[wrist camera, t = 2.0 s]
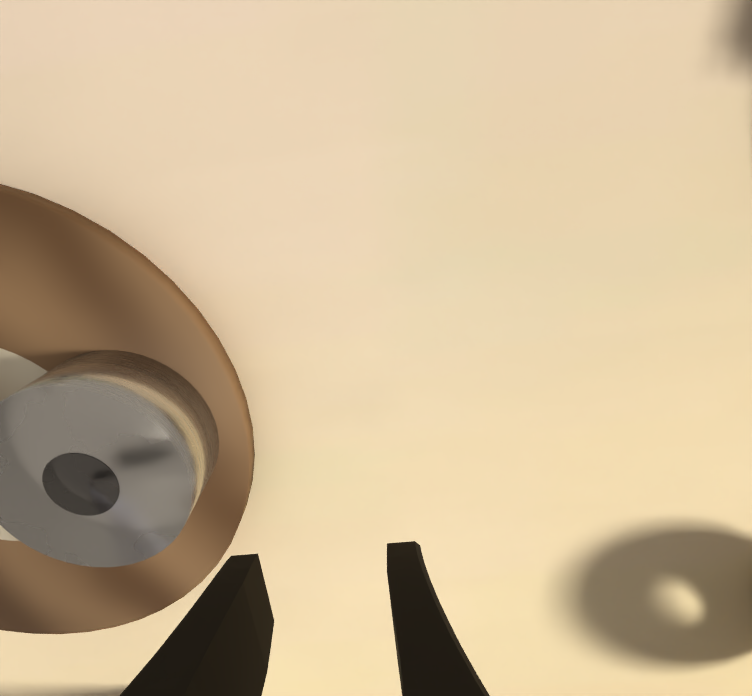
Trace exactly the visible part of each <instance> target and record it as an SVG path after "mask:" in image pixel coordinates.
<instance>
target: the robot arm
mask: <svg viewBox="0 0 752 696" xmlns="http://www.w3.org/2000/svg"><path fill="white" fill-rule="evenodd" d="M387 575H388V583H389V592H390V600H391V608H392V617H393V625H394V634H395V642H396V650H397V659H398V667H399V674H400V681H401V689H402V696H490V695H489V694H488V692H487V691H486V689H485V687H484V686H483V684H482V682H481V680H480V679H479V677H478V675H477V674H476V672H475V670H474V668H473V666H472V665H471V663H470V661H469V659H468V658H467V656H466V654H465V652H464V650H463V648H462V647H461V645H460V643H459V641H458V639H457V637H456V635H455V633H454V631H453V629H452V627H451V625H450V623H449V621H448V619H447V617H446V615H445V613H444V611H443V608H442V606H441V604H440V602H439V600H438V597H437V595H436V593H435V590H434V588H433V585H432V583H431V580H430V578H429V575H428V572H427V570H426V566H425V563H424V560H423V556H422V553H421V548H420V545H419V544H418V543H416V542H415V541H413V542H401V543H388V544H387ZM273 626H274V618H273V614H272V610H271V606H270V602H269V598H268V593H267V589H266V585H265V581H264V577H263V573H262V569H261V565H260V560H259V556H258V554H249V555H237V556H231V557H230V558H229V559H228V560H227V561H226V563H225V564H224V565H223V567H222V568H221V569H220V571H219V572H218V573H217V575H216V576H215V577H214V579H213V580H212V581H211V583H210V584H209V585H208V587H207V588H206V589H205V591H204V592H203V593H202V595H201V596H200V597H199V599H198V600H197V601H196V603H195V604H194V605H193V607H192V608H191V609H190V611H189V612H188V613H187V615H186V616H185V617H184V618H183V620H182V621H181V622H180V623H179V625H178V626H177V627H176V629H175V630H174V631H173V632H172V634H171V635H170V636H169V637H168V639H167V640H166V641H165V643H164V644H163V645H162V646H161V648H160V649H159V650H158V651H157V652H156V654H155V655H154V656H153V657H152V658H151V660H150V661H149V662H148V663H147V664H146V666H145V667H144V668H143V669H142V670H141V671H140V673H139V674H138V675H137V676H136V677H135V678H134V680H133V681H132V682H131V683H130V684H129V686H128V687H127V688H126V689H125V690H124V691H123V693H122V694H121V695H120V696H261V695H262V691H263V687H264V682H265V678H266V674H267V669H268V662H269V655H270V648H271V641H272V633H273Z"/></svg>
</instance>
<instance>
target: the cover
mask: <svg viewBox="0 0 752 696" xmlns="http://www.w3.org/2000/svg"><path fill="white" fill-rule="evenodd" d="M218 453H219V436H218V430H217V426H216V422H215V419H214V417H213V414H212V412H211V410H210V408H209V406H208V405H207V403H206V401H205V400H204V399H203V397H202V396H201V395H200V393H199V392H198V391H197V390H196V389H195V388H194V386H193V385H192V384H191V383H190V382H189V381H187V380H186V379H185V378H184V377H183V376H181V375H180V374H179V373H177V372H176V371H174V370H173V369H171V368H170V367H168V366H166V365H164V364H162V363H160V362H158V361H156V360H154V359H151V358H149V357H146V356H143V355H139V354H136V353H132V352H125V351H118V350H101V351H92V352H88V353H83V354H80V355H77V356H75V357H72V358H69V359H68V360H66V361H64V362H63V363H61V364H59V365H57V366H56V367H54V368H53V369H51V370H50V371H48V372H46V373H45V374H43V375H42V376H40V377H38V378H37V379H35V380H34V381H32V382H30V383H29V384H27V385H26V386H24V387H22V388H21V389H19V390H18V391H16V392H14V393H13V394H11V395H10V396H8V397H6V398H5V399H3V400H2V401H0V525H1V526H2V527H3V528H4V529H5V530H6V531H7V532H9V533H10V534H11V535H12V536H14V537H15V538H16V539H18V540H19V541H21V542H22V543H24V544H25V545H27V546H28V547H30V548H32V549H34V550H36V551H38V552H40V553H42V554H44V555H47V556H49V557H52V558H54V559H57V560H61V561H64V562H67V563H71V564H76V565H81V566H89V567H117V566H124V565H129V564H134V563H137V562H140V561H143V560H146V559H148V558H150V557H152V556H154V555H156V554H158V553H159V552H161V551H162V550H164V549H165V548H166V547H167V546H169V545H170V544H171V543H172V542H173V541H174V540H175V539H176V537H177V536H178V535H179V534H180V532H181V530H182V529H183V527H184V525H185V523H186V522H187V520H188V518H189V516H190V514H191V512H192V510H193V508H194V506H195V505H196V503H197V501H198V499H199V497H200V495H201V493H202V491H203V489H204V487H205V486H206V484H207V482H208V480H209V478H210V476H211V474H212V472H213V470H214V468H215V465H216V462H217V458H218Z"/></svg>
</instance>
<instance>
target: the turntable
mask: <svg viewBox="0 0 752 696" xmlns="http://www.w3.org/2000/svg"><path fill="white" fill-rule="evenodd" d="M101 350H118V351H125V352H132V353H136V354H139V355H143V356H146V357H149V358H151V359H154V360H156V361H158V362H160V363H162V364H164V365H166V366H168V367H170V368H171V369H173V370H174V371H176V372H177V373H179V374H180V375H181V376H183V377H184V378H185V379H186V380H187V381H189V382H190V383H191V384H192V385H193V386H194V388H195V389H196V390H197V391H198V392H199V393H200V395H201V396H202V397H203V399H204V400H205V401H206V403H207V405H208V406H209V408H210V410H211V412H212V414H213V417H214V419H215V422H216V426H217V430H218V436H219V453H218V458H217V462H216V465H215V468H214V470H213V472H212V474H211V476H210V478H209V480H208V482H207V484H206V486H205V487H204V489H203V491H202V493H201V495H200V497H199V499H198V501H197V503H196V505H195V506H194V508H193V510H192V512H191V514H190V516H189V518H188V520H187V522H186V523H185V525H184V527H183V529H182V530H181V532H180V534H179V535H178V536H177V537H176V539H175V540H174V541H173V542H172V543H171V544H170V545H169V546H167V547H166V548H165V549H164V550H162V551H161V552H159V553H158V554H156V555H154V556H152V557H150V558H148V559H146V560H143V561H140V562H137V563H134V564H129V565H124V566H117V567H89V566H81V565H76V564H71V563H67V562H64V561H61V560H57V559H54V558H52V557H49V556H47V555H44V554H42V553H40V552H38V551H36V550H34V549H32V548H30V547H28V546H27V545H25V544H24V543H22V542H21V541H19V540H18V539H16V538H15V537H14V536H12V535H11V534H10V533H9V532H7V531H6V530H5V529H4V528H3V527H2V526H1V525H0V630H5V631H14V632H24V633H35V634H67V633H80V632H90V631H96V630H101V629H107V628H112V627H116V626H120V625H123V624H126V623H130V622H133V621H136V620H140V619H142V618H144V617H146V616H149V615H151V614H153V613H156V612H158V611H160V610H162V609H164V608H166V607H167V606H169V605H171V604H172V603H174V602H176V601H177V600H179V599H181V598H182V597H184V596H185V595H186V594H187V593H189V592H190V591H191V590H192V589H193V588H195V587H196V586H197V585H198V584H200V583H201V582H202V581H203V580H204V579H205V578H206V576H207V575H208V574H209V573H210V572H211V571H212V570H213V569H214V567H215V566H216V565H217V564H218V563H219V561H220V560H221V558H222V556H223V555H224V553H225V552H226V550H227V549H228V547H229V546H230V544H231V542H232V540H233V537H234V535H235V533H236V530H237V528H238V526H239V523H240V521H241V518H242V516H243V513H244V510H245V508H246V505H247V501H248V497H249V493H250V489H251V485H252V481H253V469H254V456H255V453H254V440H253V427H252V423H251V418H250V414H249V409H248V405H247V400H246V397H245V394H244V392H243V389H242V386H241V384H240V381H239V378H238V376H237V373H236V370H235V368H234V366H233V364H232V362H231V361H230V359H229V357H228V355H227V353H226V351H225V349H224V347H223V346H222V344H221V342H220V340H219V338H218V337H217V335H216V334H215V333H214V331H213V330H212V328H211V327H210V326H209V324H208V323H207V321H206V320H205V318H204V317H203V316H202V314H201V313H200V311H199V310H198V309H197V308H196V306H195V305H194V304H193V303H192V302H191V301H190V300H189V299H188V298H187V296H186V295H185V294H184V293H183V292H182V291H181V290H180V289H179V287H178V286H177V285H176V284H175V283H174V282H173V281H172V280H171V279H170V278H169V277H168V276H167V275H165V274H164V273H163V272H162V271H161V270H160V269H159V268H158V267H156V266H155V265H154V264H153V263H152V262H151V261H150V260H149V259H148V258H146V257H145V256H144V255H143V254H142V253H140V252H139V251H137V250H136V249H135V248H133V247H132V246H130V245H129V244H128V243H126V242H125V241H123V240H122V239H120V238H119V237H118V236H116V235H115V234H113V233H112V232H111V231H109V230H107V229H106V228H104V227H102V226H100V225H98V224H97V223H95V222H93V221H91V220H89V219H88V218H86V217H84V216H82V215H80V214H79V213H77V212H75V211H73V210H71V209H69V208H66V207H64V206H61V205H59V204H57V203H54V202H52V201H50V200H47V199H45V198H42V197H40V196H38V195H35V194H32V193H29V192H25V191H22V190H19V189H15V188H12V187H8V186H5V185H1V184H0V401H2V400H3V399H5V398H6V397H8V396H10V395H11V394H13V393H14V392H16V391H18V390H19V389H21V388H22V387H24V386H26V385H27V384H29V383H30V382H32V381H34V380H35V379H37V378H38V377H40V376H42V375H43V374H45V373H46V372H48V371H50V370H51V369H53V368H54V367H56V366H57V365H59V364H61V363H63V362H64V361H66V360H68V359H69V358H72V357H75V356H77V355H80V354H83V353H88V352H92V351H101Z"/></svg>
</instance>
